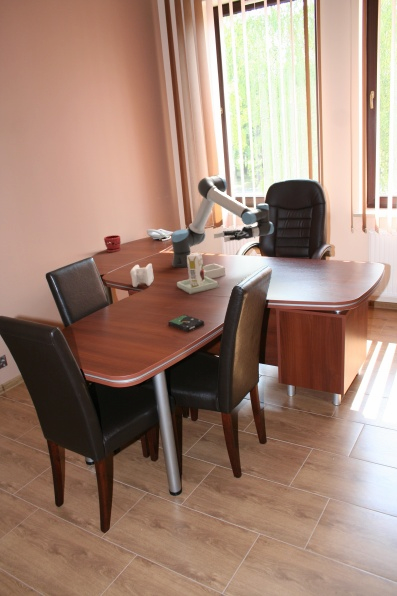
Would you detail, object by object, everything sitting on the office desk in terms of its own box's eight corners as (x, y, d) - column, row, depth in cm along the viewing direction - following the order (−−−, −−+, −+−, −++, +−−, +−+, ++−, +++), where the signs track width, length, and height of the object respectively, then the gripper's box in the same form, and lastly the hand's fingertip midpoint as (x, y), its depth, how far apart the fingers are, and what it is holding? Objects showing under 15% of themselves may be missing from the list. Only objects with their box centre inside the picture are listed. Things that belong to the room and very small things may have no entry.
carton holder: (196, 275, 310) (195, 267, 308) (215, 270, 315) (214, 263, 313) (206, 279, 298) (205, 271, 296) (225, 275, 303) (224, 267, 301)
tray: (177, 286, 290) (176, 282, 289) (204, 280, 297) (204, 275, 296) (190, 294, 275) (189, 289, 274) (218, 287, 281) (217, 282, 281)
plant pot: (104, 253, 401) (101, 239, 397) (109, 249, 413) (107, 235, 409) (119, 252, 398) (116, 237, 395) (124, 248, 411) (121, 234, 407)
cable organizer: (149, 287, 295) (146, 269, 292) (132, 288, 297) (129, 270, 293) (154, 280, 309) (151, 262, 306) (138, 281, 311) (135, 263, 307)
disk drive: (204, 326, 229) (184, 319, 240) (204, 320, 228) (184, 313, 239) (187, 333, 223) (168, 326, 234) (187, 327, 222) (167, 320, 233)
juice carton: (188, 287, 283) (185, 256, 277) (194, 283, 291) (190, 252, 285) (201, 288, 281) (197, 255, 274) (206, 283, 288) (202, 252, 282)
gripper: (261, 241, 291) (229, 247, 283) (240, 234, 313) (210, 240, 305) (260, 228, 289) (228, 234, 281) (239, 223, 310) (209, 228, 303)
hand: (219, 237), depth 293 cm, fingers open, 13 cm apart
